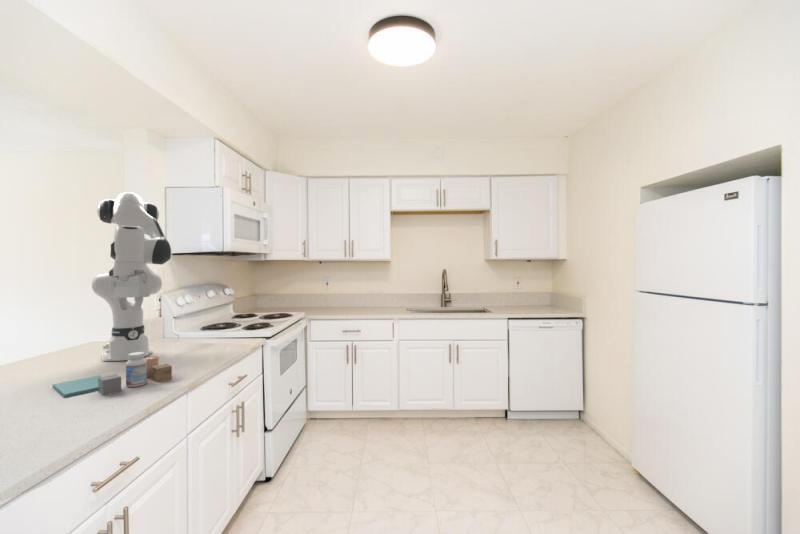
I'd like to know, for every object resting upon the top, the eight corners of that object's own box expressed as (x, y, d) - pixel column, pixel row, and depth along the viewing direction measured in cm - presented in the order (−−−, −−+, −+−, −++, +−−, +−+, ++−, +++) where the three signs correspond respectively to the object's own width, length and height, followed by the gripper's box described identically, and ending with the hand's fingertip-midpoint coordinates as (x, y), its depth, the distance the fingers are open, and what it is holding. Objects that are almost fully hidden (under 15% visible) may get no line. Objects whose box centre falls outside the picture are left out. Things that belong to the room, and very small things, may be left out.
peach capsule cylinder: (140, 376, 140) (140, 358, 140) (155, 373, 144) (155, 355, 144) (146, 379, 137) (145, 360, 137) (161, 375, 141) (160, 357, 141)
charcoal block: (98, 392, 123) (98, 377, 123) (116, 388, 127) (116, 374, 127) (102, 395, 120) (102, 380, 120) (121, 391, 124) (121, 376, 124)
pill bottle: (124, 384, 130) (123, 353, 130) (144, 380, 135) (144, 350, 135) (127, 388, 126) (127, 356, 126) (148, 384, 131) (148, 353, 131)
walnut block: (151, 379, 136) (151, 366, 136) (166, 376, 140) (166, 363, 140) (156, 382, 133) (156, 368, 133) (171, 378, 137) (171, 365, 137)
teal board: (52, 387, 128) (52, 384, 128) (99, 377, 138) (99, 375, 138) (64, 397, 118) (64, 394, 118) (113, 386, 128) (113, 383, 128)
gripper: (155, 269, 126) (155, 310, 125) (126, 272, 136) (126, 309, 135) (135, 269, 120) (135, 311, 120) (106, 272, 130) (105, 311, 130)
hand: (130, 310), depth 128 cm, fingers open, 8 cm apart
